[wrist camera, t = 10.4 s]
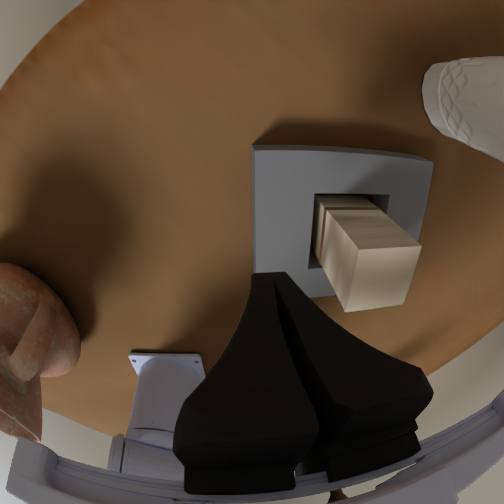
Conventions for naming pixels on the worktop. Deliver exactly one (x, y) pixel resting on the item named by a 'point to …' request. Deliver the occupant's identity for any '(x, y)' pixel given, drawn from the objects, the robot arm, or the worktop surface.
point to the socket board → (326, 181)
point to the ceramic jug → (31, 348)
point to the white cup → (468, 101)
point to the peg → (362, 252)
